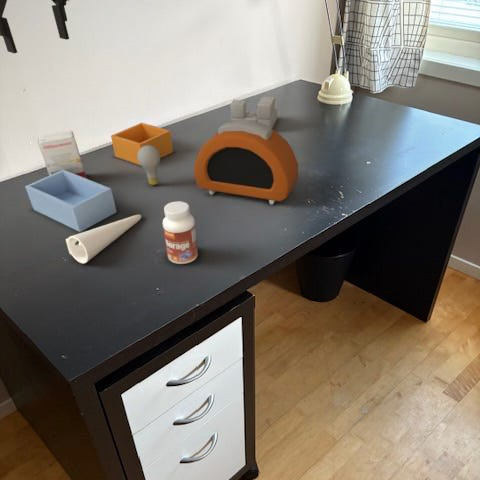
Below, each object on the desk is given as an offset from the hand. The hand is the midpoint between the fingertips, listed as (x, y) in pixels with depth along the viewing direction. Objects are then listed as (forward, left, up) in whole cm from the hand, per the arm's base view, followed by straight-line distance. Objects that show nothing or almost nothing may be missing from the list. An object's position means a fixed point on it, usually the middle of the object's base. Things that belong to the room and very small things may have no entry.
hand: (39, 45), depth 108 cm
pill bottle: (+52, -13, -30) cm, 62 cm away
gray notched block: (+21, +53, -30) cm, 65 cm away
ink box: (+4, -5, -30) cm, 31 cm away
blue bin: (+18, -14, -30) cm, 38 cm away
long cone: (+36, -17, -30) cm, 50 cm away
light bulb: (+24, +6, -30) cm, 39 cm away
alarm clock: (+46, +16, -30) cm, 57 cm away
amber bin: (+8, +18, -30) cm, 36 cm away
